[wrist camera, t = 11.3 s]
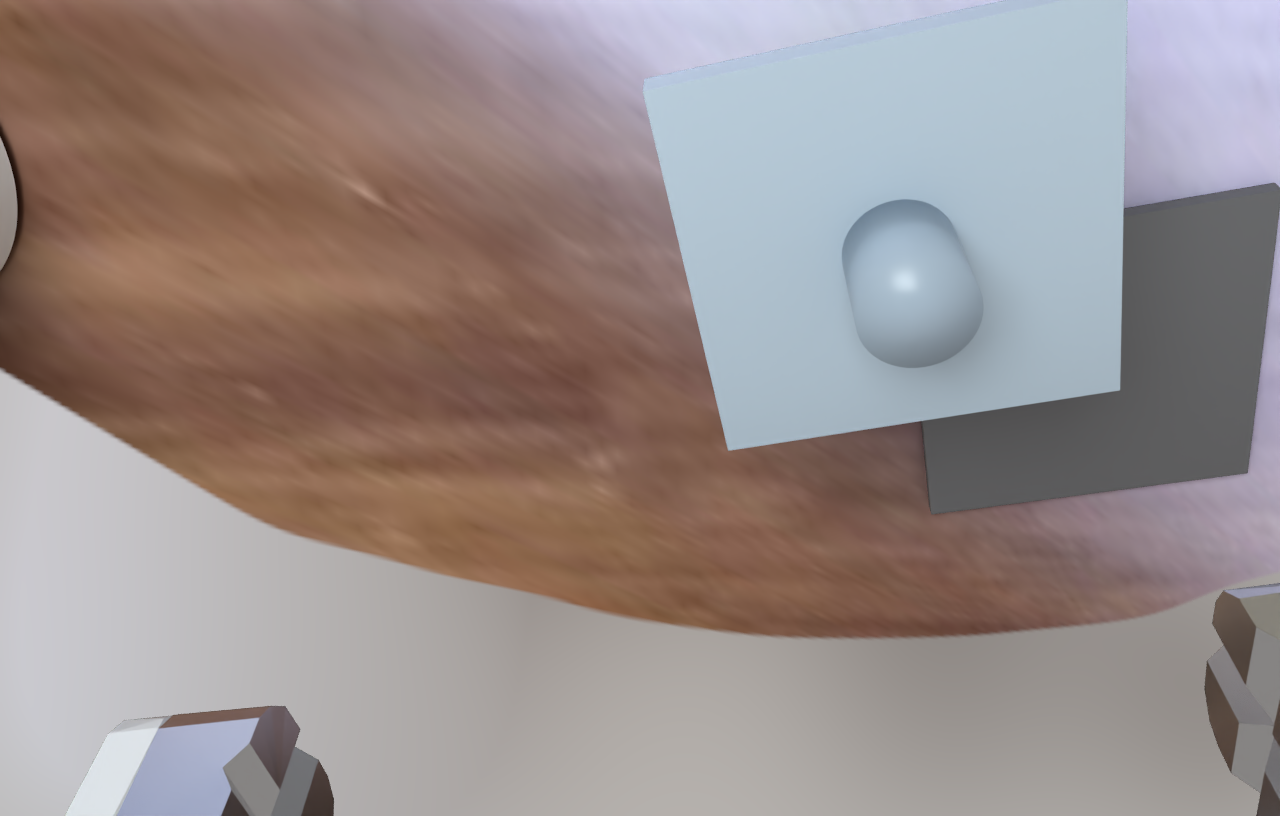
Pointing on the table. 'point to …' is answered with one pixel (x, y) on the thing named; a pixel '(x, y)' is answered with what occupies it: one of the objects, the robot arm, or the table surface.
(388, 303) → the table surface
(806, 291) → the lid
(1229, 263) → the mat
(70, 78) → the table surface
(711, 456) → the table surface
